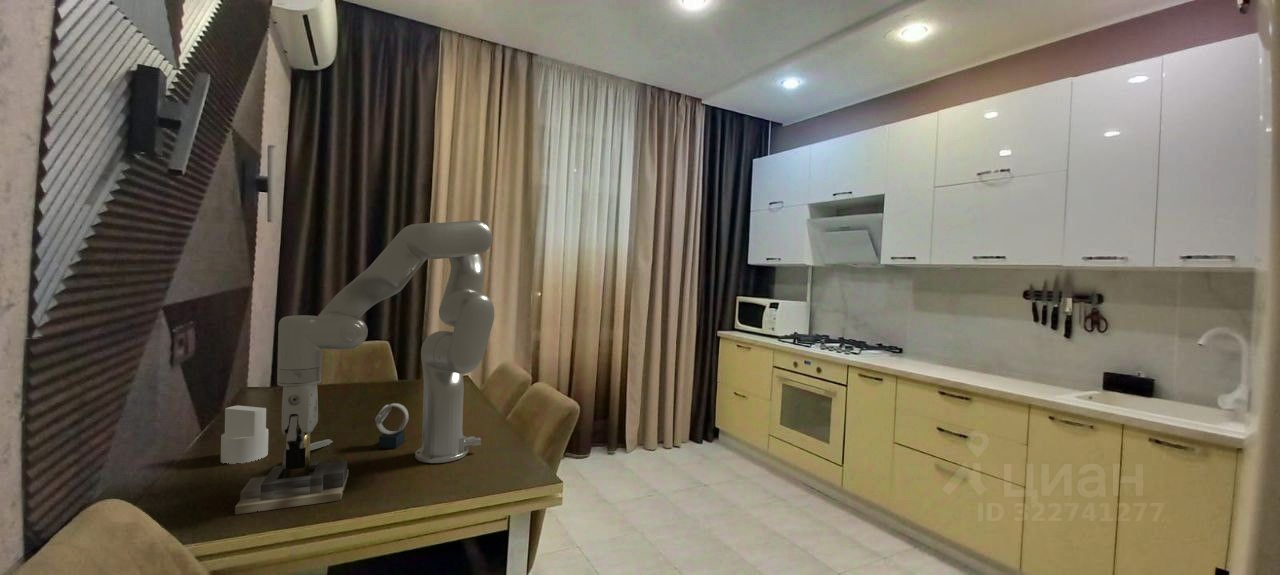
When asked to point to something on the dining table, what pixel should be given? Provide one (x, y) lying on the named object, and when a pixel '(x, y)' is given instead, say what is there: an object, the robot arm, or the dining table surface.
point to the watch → (391, 436)
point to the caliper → (312, 447)
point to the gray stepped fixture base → (294, 488)
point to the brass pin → (305, 470)
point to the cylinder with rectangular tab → (244, 435)
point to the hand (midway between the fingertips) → (297, 463)
